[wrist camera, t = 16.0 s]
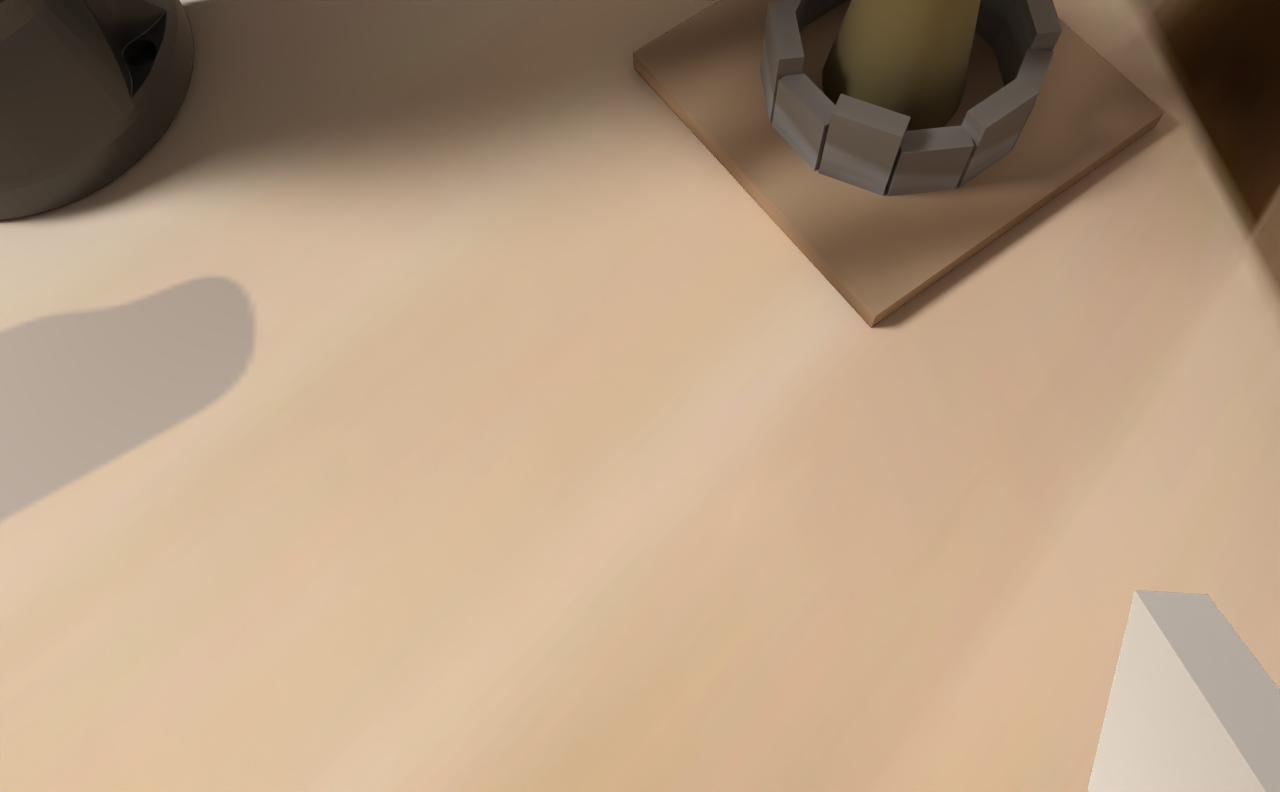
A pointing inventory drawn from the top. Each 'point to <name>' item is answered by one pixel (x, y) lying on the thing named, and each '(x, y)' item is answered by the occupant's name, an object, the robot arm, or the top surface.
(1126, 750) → the robot arm
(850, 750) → the top surface
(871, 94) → the cork
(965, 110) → the collar
